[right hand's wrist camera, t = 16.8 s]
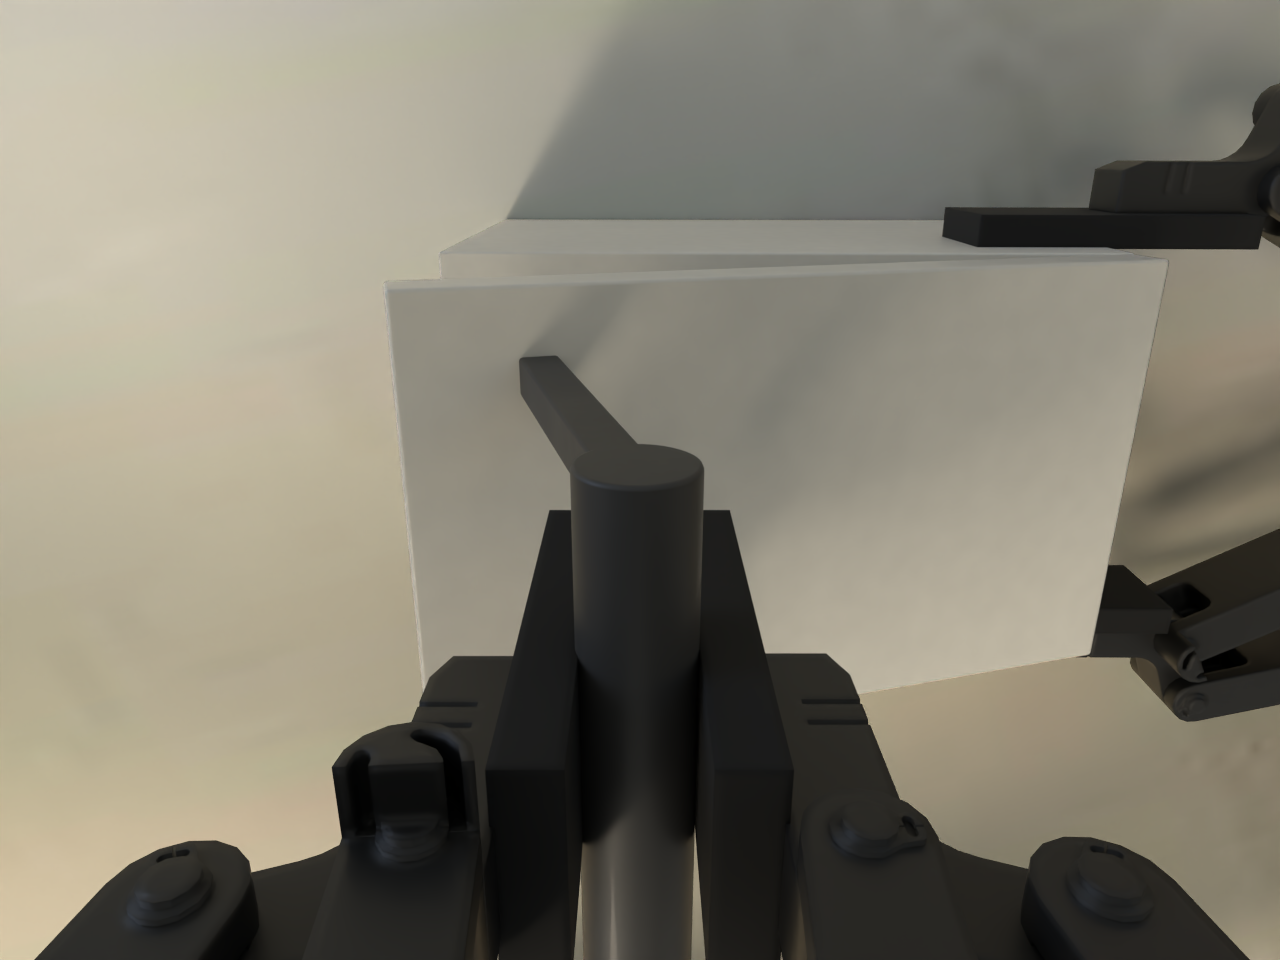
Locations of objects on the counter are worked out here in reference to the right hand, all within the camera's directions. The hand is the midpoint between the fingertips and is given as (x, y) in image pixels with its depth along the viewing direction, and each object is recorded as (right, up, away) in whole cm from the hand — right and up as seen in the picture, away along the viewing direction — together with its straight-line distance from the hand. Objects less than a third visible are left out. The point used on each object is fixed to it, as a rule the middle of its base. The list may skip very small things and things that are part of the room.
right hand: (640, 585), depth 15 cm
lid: (+3, +2, +4) cm, 5 cm away
